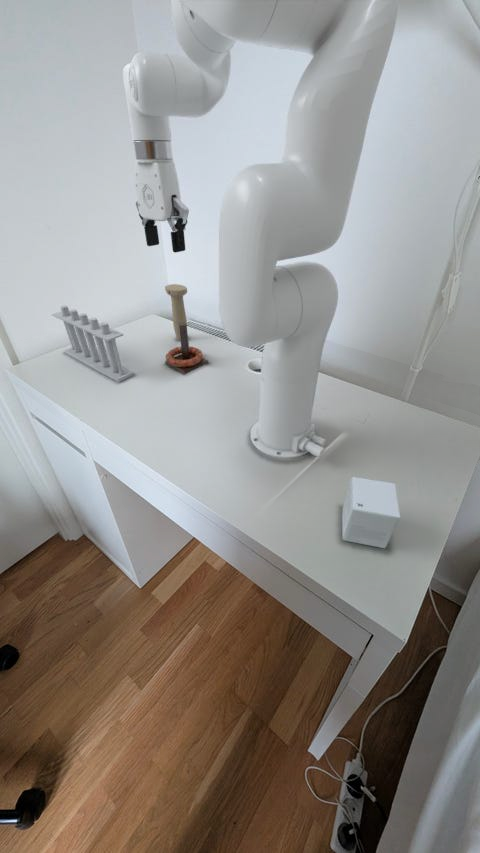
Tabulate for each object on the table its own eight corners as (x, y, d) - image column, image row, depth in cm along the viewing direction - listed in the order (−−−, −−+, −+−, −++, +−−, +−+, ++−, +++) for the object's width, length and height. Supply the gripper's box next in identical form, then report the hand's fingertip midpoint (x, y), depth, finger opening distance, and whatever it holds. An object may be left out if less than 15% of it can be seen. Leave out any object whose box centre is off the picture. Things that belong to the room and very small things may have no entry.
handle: (182, 344, 98) (176, 292, 89) (168, 338, 102) (161, 287, 92) (195, 339, 101) (190, 287, 92) (181, 333, 104) (175, 283, 95)
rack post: (208, 363, 90) (205, 323, 83) (185, 374, 85) (180, 333, 78) (188, 354, 94) (184, 315, 87) (165, 364, 89) (159, 324, 82)
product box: (385, 550, 47) (401, 518, 43) (341, 541, 48) (351, 509, 44) (382, 515, 52) (396, 483, 47) (341, 507, 53) (351, 475, 48)
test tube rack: (133, 375, 85) (121, 324, 76) (118, 382, 82) (104, 330, 74) (79, 347, 97) (64, 301, 89) (65, 353, 94) (48, 305, 86)
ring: (210, 358, 89) (210, 352, 88) (182, 372, 84) (181, 365, 83) (186, 348, 94) (186, 342, 93) (159, 360, 89) (157, 353, 88)
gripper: (114, 153, 70) (131, 245, 81) (165, 153, 61) (176, 257, 72) (144, 153, 74) (156, 240, 85) (196, 153, 65) (203, 251, 76)
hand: (165, 248), depth 78 cm, fingers open, 9 cm apart
